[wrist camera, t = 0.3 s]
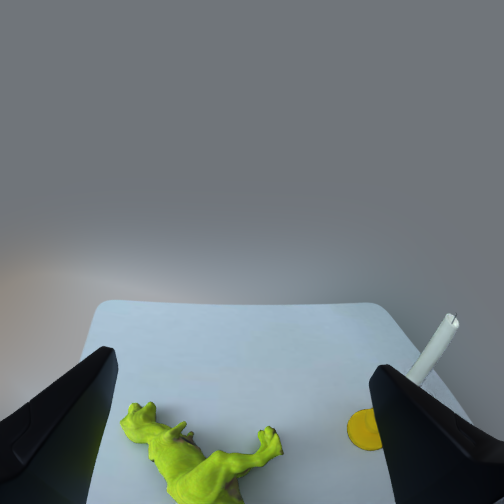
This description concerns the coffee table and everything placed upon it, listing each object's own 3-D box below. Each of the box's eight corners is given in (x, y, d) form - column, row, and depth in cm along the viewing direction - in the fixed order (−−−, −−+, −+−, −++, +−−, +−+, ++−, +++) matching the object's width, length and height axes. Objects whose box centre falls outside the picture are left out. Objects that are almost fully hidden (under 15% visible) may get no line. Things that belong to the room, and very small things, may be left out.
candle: (398, 435, 21) (489, 323, 14) (366, 459, 18) (471, 345, 12) (370, 404, 25) (444, 288, 18) (337, 424, 22) (416, 301, 16)
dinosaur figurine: (347, 473, 17) (382, 446, 14) (299, 563, 9) (332, 564, 6) (168, 378, 25) (165, 337, 22) (95, 436, 17) (73, 401, 14)
